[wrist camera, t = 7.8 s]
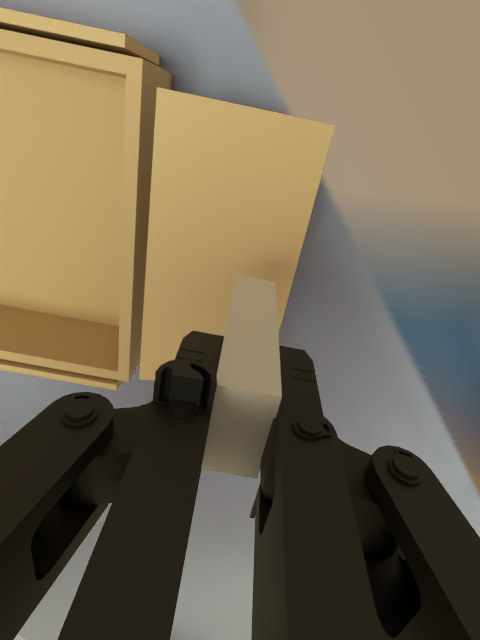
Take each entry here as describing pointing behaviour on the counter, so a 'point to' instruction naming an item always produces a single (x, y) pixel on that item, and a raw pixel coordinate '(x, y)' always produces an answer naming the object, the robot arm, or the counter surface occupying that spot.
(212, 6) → the counter surface
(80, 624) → the robot arm
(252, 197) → the flap
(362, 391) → the counter surface
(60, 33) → the tan shallow open box
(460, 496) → the counter surface
